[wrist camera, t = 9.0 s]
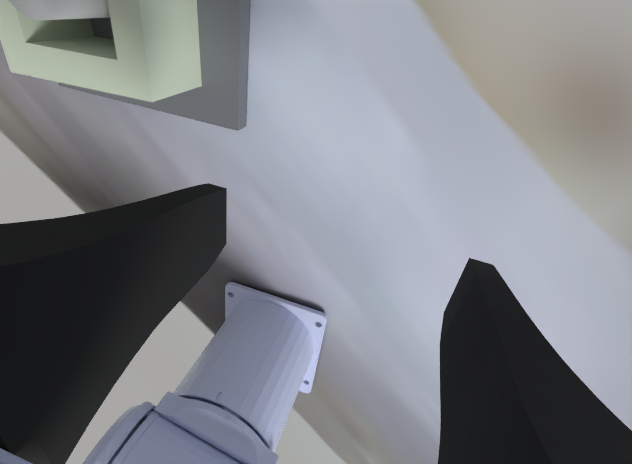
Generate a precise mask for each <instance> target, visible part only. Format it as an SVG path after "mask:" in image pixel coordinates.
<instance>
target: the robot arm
mask: <svg viewBox="0 0 632 464" xmlns="http://www.w3.org/2000/svg"><path fill="white" fill-rule="evenodd" d="M225 245H226V188H223V187H219V186H216V185H212V184H209V183H208V184H202V185H197V186H193V187H189V188H185V189H182V190H178V191H175V192H171V193H167V194H164V195H160V196H157V197H153V198H149V199H146V200H142V201H138V202H134V203H130V204H126V205H122V206H118V207H114V208H109V209H105V210H100V211H96V212H90V213H85V214H79V215H74V216H67V217H61V218H55V219H45V220H37V221H27V222H18V223H9V224H0V464H65V463H66V461H67V459H68V458H69V456H70V455H71V453H72V451H73V449H74V448H75V446H76V444H77V443H78V441H79V440H80V438H81V436H82V435H83V433H84V431H85V430H86V428H87V426H88V425H89V423H90V421H91V420H92V418H93V417H94V415H95V414H96V412H97V411H98V409H99V408H100V406H101V405H102V403H103V401H104V400H105V398H106V397H107V395H108V394H109V392H110V391H111V389H112V387H113V386H114V384H115V383H116V382H117V380H118V379H119V377H120V376H121V375H122V373H123V372H124V370H125V369H126V367H127V366H128V365H129V363H130V362H131V360H132V359H133V357H134V356H135V355H136V353H137V352H138V351H139V349H140V348H141V347H142V345H143V344H144V343H145V341H146V340H147V338H148V337H149V336H150V334H151V333H152V332H153V330H154V329H155V328H156V327H157V326H158V324H159V323H160V322H161V321H162V320H163V319H164V317H165V316H166V315H167V314H168V313H169V312H170V311H171V310H172V309H173V308H174V306H176V304H177V303H178V302H179V301H180V300H181V299H182V298H183V297H184V296H185V295H186V294H187V293H188V291H189V290H190V289H191V288H192V287H193V286H194V285H195V284H196V283H197V282H198V281H199V279H200V278H201V277H202V276H203V275H204V274H205V273H206V272H207V270H208V269H209V268H210V267H211V265H212V264H213V263H214V261H215V260H216V258H217V257H218V255H219V254H220V252H221V251H222V249H223V248H224V246H225ZM232 293H233V294H232ZM318 322H319V323H318ZM326 322H327V316H326V314H325V313H323V312H321V311H318V310H315V309H312V308H309V307H306V306H303V305H300V304H297V303H294V302H291V301H288V300H285V299H282V298H279V297H276V296H273V295H270V294H267V293H264V292H261V291H258V290H255V289H252V288H249V287H246V286H243V285H240V284H237V283H234V282H229V283H227V285H226V286H225V322H224V323H223V325H222V326H221V327H220V329H219V330H218V332H217V333H216V334H215V336H214V337H213V338H212V340H211V341H210V343H209V344H208V345H207V347H206V348H205V350H204V351H203V352H202V354H201V355H200V357H199V358H198V359H197V361H196V362H195V363H194V365H193V366H192V368H191V369H190V371H189V372H188V373H187V375H186V376H185V377H184V379H183V380H182V381H181V383H180V384H179V386H178V387H177V388H176V390H175V391H174V393H171V392H167V393H166V394H165V396H164V397H163V398H162V400H161V401H160V403H159V404H158V405H157V407H156V406H154V405H153V404H152V403H150V402H144V403H142V404H141V405H138V406H135V407H132V408H130V409H129V410H127V411H126V412H125V413H124V414H123V415H122V416H121V417H120V418H119V419H118V420H117V421H116V422H115V423H114V424H113V425H112V426H111V428H110V429H109V430H108V431H107V432H106V433H105V435H104V436H103V437H102V438H101V440H100V441H99V442H98V444H97V445H96V446H95V447H94V449H93V450H92V452H91V453H90V454H89V455H88V457H87V458H86V460H85V461H84V463H83V464H277V462H278V459H279V456H278V455H277V454H275V453H274V451H275V449H276V446H277V444H278V441H279V439H280V436H281V434H282V431H283V429H284V426H285V424H286V421H287V419H288V416H289V414H290V411H291V409H292V406H293V404H294V401H295V399H296V396H297V394H298V391H301V392H304V393H310V392H311V389H312V385H313V381H314V376H315V372H316V367H317V363H318V358H319V354H320V349H321V345H322V340H323V336H324V331H325V327H326ZM320 323H321V324H320ZM440 399H441V431H440V447H439V458H438V464H632V431H631V430H630V429H629V428H628V427H627V426H626V425H625V424H624V423H623V422H622V421H621V420H620V419H618V418H617V417H616V416H615V415H614V414H613V413H612V412H611V411H610V410H609V409H608V408H607V407H606V406H605V405H604V404H603V403H602V402H601V401H600V400H599V399H598V398H597V397H596V396H595V395H594V394H593V392H592V391H591V390H590V389H589V388H588V387H587V386H586V385H585V384H584V383H583V382H582V381H581V380H580V378H579V377H578V376H577V375H576V374H575V373H574V372H573V371H572V370H571V369H570V368H569V366H568V365H567V364H566V363H565V362H564V361H563V359H562V358H561V357H560V356H559V355H558V353H557V352H556V351H555V350H554V348H553V347H552V346H551V345H550V343H549V342H548V341H547V340H546V339H545V337H544V336H543V335H542V333H541V332H540V331H539V329H538V328H537V327H536V326H535V324H534V323H533V321H532V320H531V319H530V317H529V316H528V315H527V313H526V312H525V310H524V309H523V308H522V306H521V305H520V303H519V302H518V300H517V299H516V297H515V296H514V295H513V293H512V292H511V290H510V289H509V287H508V286H507V284H506V283H505V281H504V280H503V278H502V277H501V275H500V274H499V272H498V271H497V270H496V268H495V267H494V266H493V265H492V264H488V263H485V262H481V261H478V260H474V259H471V258H469V260H468V262H467V264H466V266H465V268H464V271H463V273H462V275H461V277H460V279H459V281H458V283H457V286H456V288H455V290H454V292H453V294H452V296H451V298H450V301H449V303H448V305H447V307H446V309H445V311H444V316H443V323H442V331H441V340H440Z"/></svg>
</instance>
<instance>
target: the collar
mask: <svg viewBox="0 0 632 464" xmlns="http://www.w3.org/2000/svg"><path fill="white" fill-rule="evenodd" d="M107 1H108V7H109V13H110V19H111V25H112V31H113V37H114V40H112V39H106V38H101V37H95V36H94V33H93V28H92V23H91V18H85V19H60V20H33V19H30V18H28V17H26V16H25V15H23V14H22V13H20V12H19V11H18V10H17V9H16V8H15V7H14V6H13V5H12V4H11V3H10V1H9V0H0V40H1V43H2V46H3V49H4V52H5V56H6V59H7V62H8V65H9V68H10V71H11V72H13V73H18V74H23V75H27V76H32V77H37V78H41V79H46V80H51V81H55V82H60V83H65V84H69V85H74V86H79V87H83V88H88V89H93V90H97V91H102V92H107V93H111V94H116V95H121V96H125V97H130V98H135V99H139V100H144V101H149V102H155V101H158V100H161V99H164V98H167V97H170V96H173V95H176V94H179V93H182V92H185V91H188V90H191V89H194V88H197V87H201V86H202V81H201V64H200V47H199V30H198V13H197V0H107Z"/></svg>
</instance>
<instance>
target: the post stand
mask: <svg viewBox="0 0 632 464" xmlns="http://www.w3.org/2000/svg"><path fill="white" fill-rule="evenodd" d="M9 1H10V3H11V4H12V5H13V6H14V7H15V8H16V9H17V10H18V11H19V12H20V13H22V14H23V15H25V16H26V17H28V18H30V19H33V20H60V19H85V18H91V23H92V28H93V33H94V36H95V37H101V38H106V39H112V40H114V37H113V31H112V25H111V19H110V13H109V7H108V1H107V0H9ZM197 13H198V30H199V47H200V64H201V81H202V86H201V87H197V88H194V89H191V90H188V91H185V92H182V93H179V94H176V95H173V96H170V97H167V98H164V99H161V100H158V101H155V102H149V101H144V100H139V99H135V98H130V97H125V96H121V95H116V94H111V93H107V92H102V91H97V90H93V89H88V88H83V87H79V86H74V85H69V84H65V83H60V82H58V83H59V85H60V86H64V87H68V88H72V89H76V90H80V91H84V92H87V93H91V94H95V95H99V96H103V97H107V98H111V99H115V100H119V101H123V102H127V103H131V104H135V105H139V106H143V107H147V108H151V109H154V110H158V111H162V112H166V113H170V114H174V115H178V116H182V117H186V118H190V119H194V120H198V121H202V122H206V123H210V124H214V125H218V126H221V127H225V128H229V129H233V130H237V131H238V130H240V129H241V128H243V127H245V126H246V113H247V83H248V53H249V24H250V0H197Z"/></svg>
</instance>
